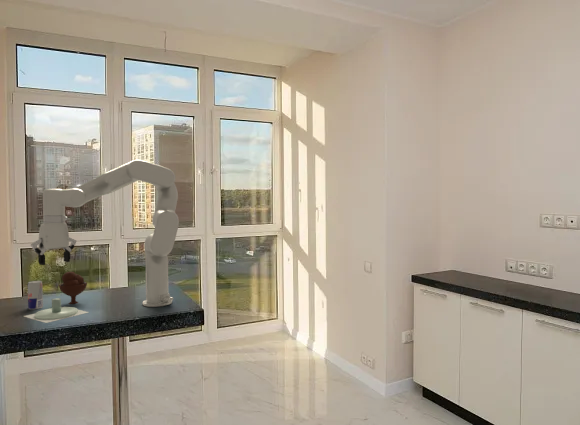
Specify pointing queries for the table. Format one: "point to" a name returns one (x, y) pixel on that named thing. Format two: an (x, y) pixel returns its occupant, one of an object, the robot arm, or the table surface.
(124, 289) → the table surface
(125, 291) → the table surface
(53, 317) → the lid
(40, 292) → the energy drink
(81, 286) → the ice cream bowl
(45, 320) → the mat
